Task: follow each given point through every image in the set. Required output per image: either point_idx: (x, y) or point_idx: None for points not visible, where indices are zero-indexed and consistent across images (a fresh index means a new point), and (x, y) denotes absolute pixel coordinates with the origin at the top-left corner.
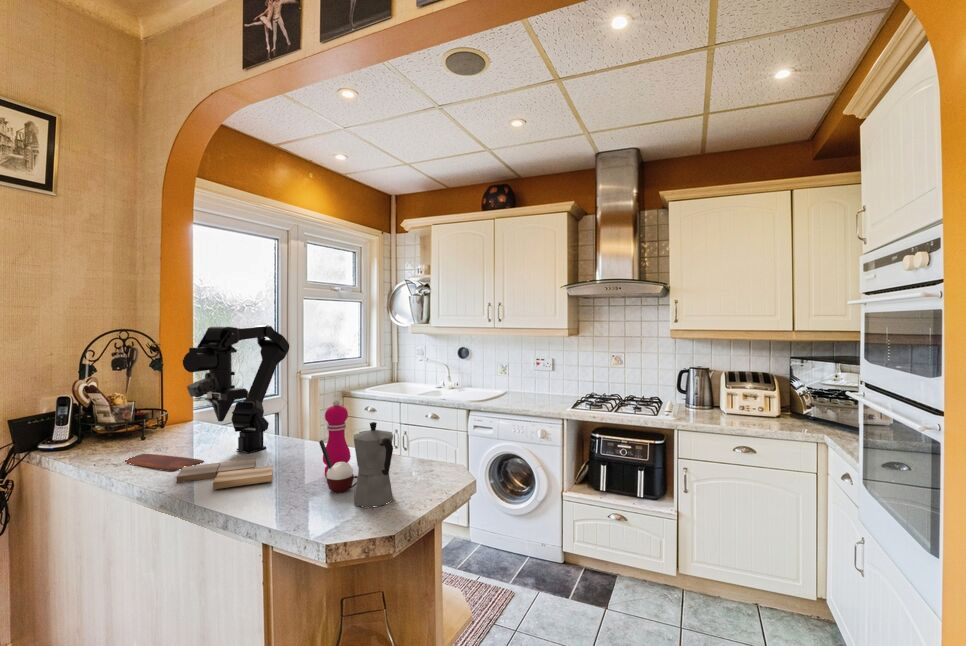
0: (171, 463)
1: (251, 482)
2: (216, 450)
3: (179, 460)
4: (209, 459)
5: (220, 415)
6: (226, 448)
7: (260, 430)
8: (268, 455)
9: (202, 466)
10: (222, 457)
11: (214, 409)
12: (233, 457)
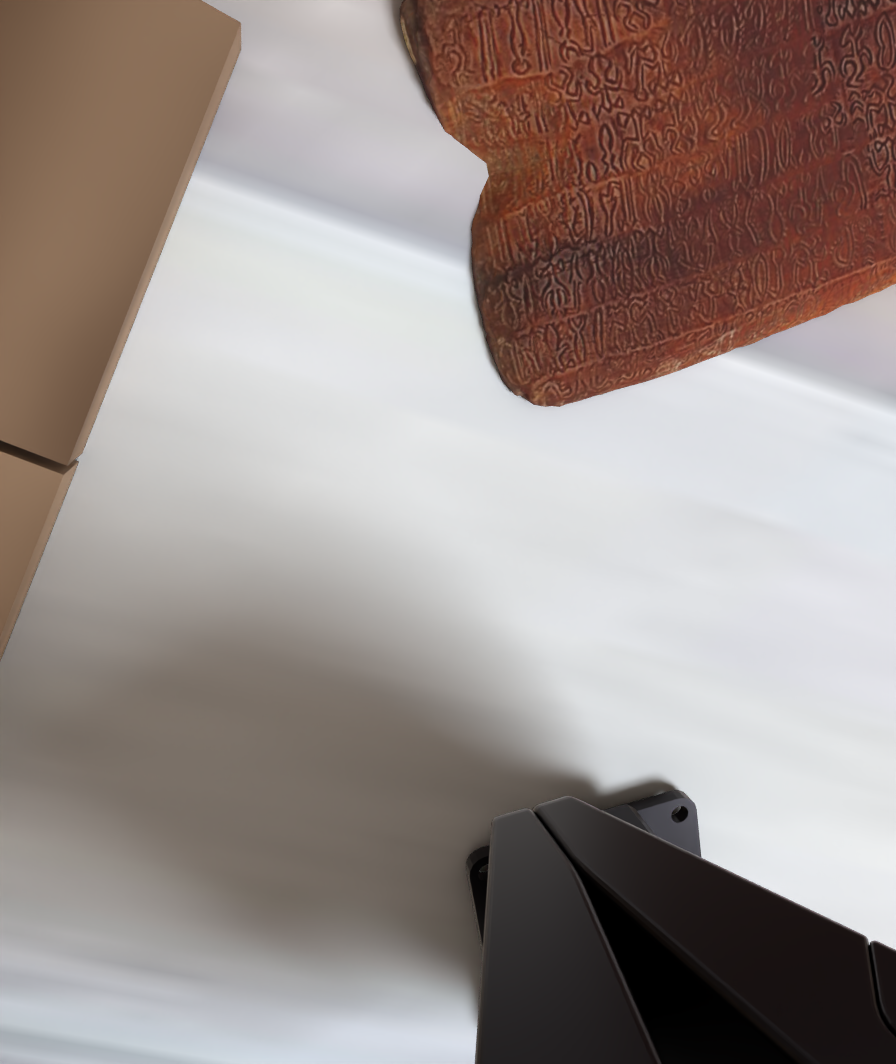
0: (664, 41)
1: None
2: (873, 637)
3: (735, 174)
4: (586, 479)
5: (485, 964)
6: (859, 733)
7: None
8: (207, 997)
9: (31, 221)
10: (548, 608)
11: (887, 980)
12: (446, 696)
